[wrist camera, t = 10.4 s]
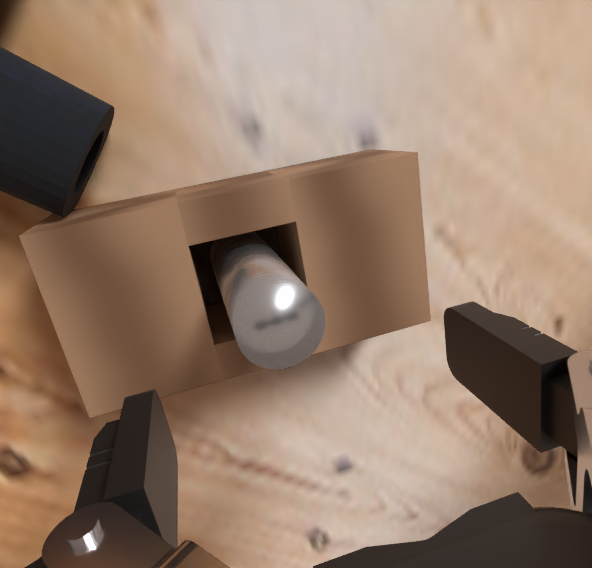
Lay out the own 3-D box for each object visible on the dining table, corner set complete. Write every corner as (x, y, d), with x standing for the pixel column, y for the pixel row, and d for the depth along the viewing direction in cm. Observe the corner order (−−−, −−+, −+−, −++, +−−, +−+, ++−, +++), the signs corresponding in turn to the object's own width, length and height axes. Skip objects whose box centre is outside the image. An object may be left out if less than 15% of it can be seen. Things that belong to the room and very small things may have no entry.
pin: (260, 221, 24) (317, 273, 15) (271, 274, 25) (331, 355, 16) (203, 234, 23) (225, 296, 14) (217, 288, 24) (246, 379, 15)
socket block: (370, 149, 24) (417, 152, 20) (386, 289, 27) (430, 320, 22) (51, 214, 21) (18, 236, 17) (104, 364, 24) (89, 418, 19)
